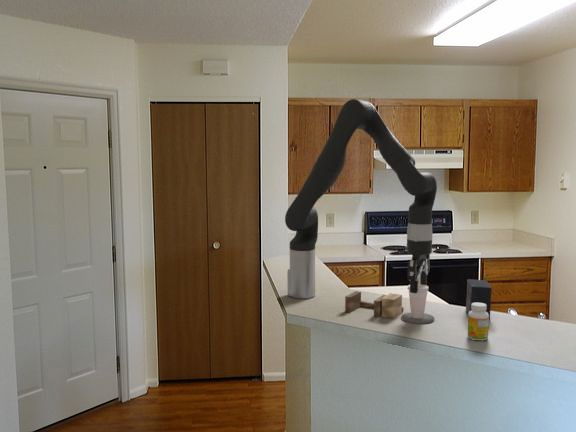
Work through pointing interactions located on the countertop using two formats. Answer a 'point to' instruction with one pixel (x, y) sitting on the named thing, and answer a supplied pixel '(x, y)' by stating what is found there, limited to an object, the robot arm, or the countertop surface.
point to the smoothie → (418, 300)
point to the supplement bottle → (478, 322)
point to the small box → (478, 294)
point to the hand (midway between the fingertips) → (418, 289)
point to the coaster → (418, 319)
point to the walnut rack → (376, 304)
